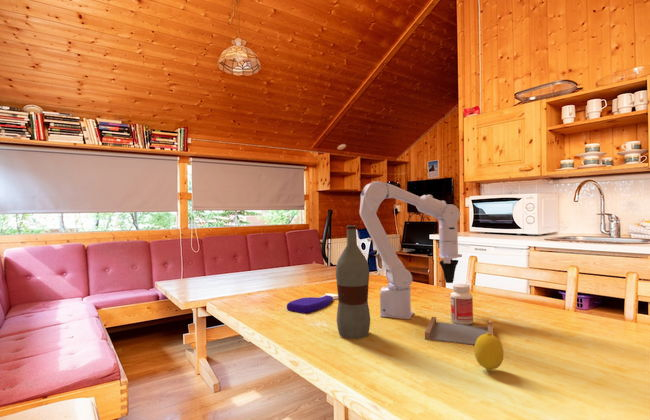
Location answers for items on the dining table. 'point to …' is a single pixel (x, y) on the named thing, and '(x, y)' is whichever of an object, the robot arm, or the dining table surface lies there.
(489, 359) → the lemon
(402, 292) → the robot arm
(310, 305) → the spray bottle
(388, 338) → the dining table surface
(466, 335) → the grey tray
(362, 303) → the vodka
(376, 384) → the dining table surface
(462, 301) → the pill bottle
